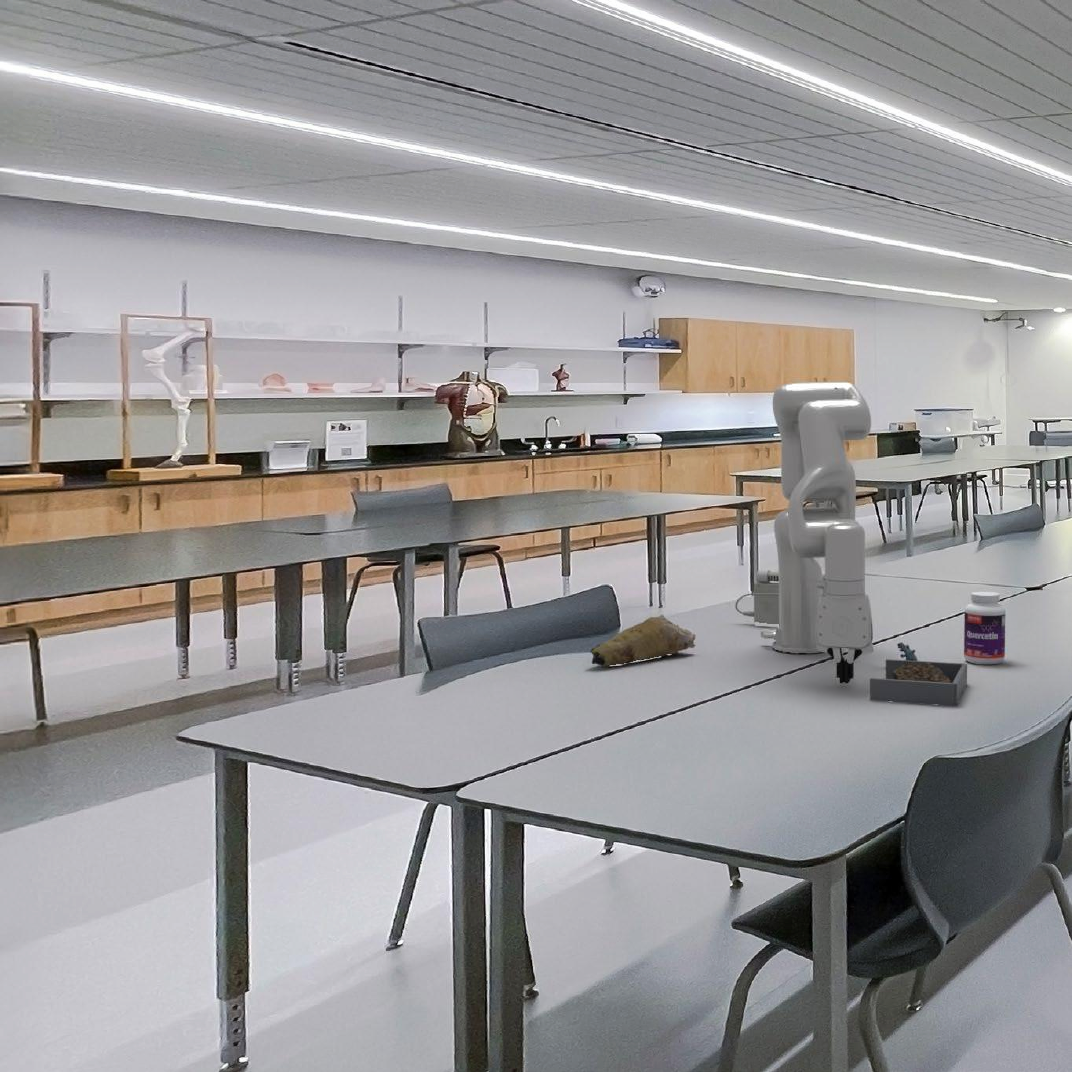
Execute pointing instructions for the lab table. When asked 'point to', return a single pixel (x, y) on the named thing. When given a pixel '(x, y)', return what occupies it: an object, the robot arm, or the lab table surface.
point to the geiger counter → (765, 598)
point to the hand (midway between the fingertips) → (845, 681)
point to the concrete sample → (920, 673)
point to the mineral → (643, 642)
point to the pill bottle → (984, 629)
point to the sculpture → (907, 652)
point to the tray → (920, 685)
